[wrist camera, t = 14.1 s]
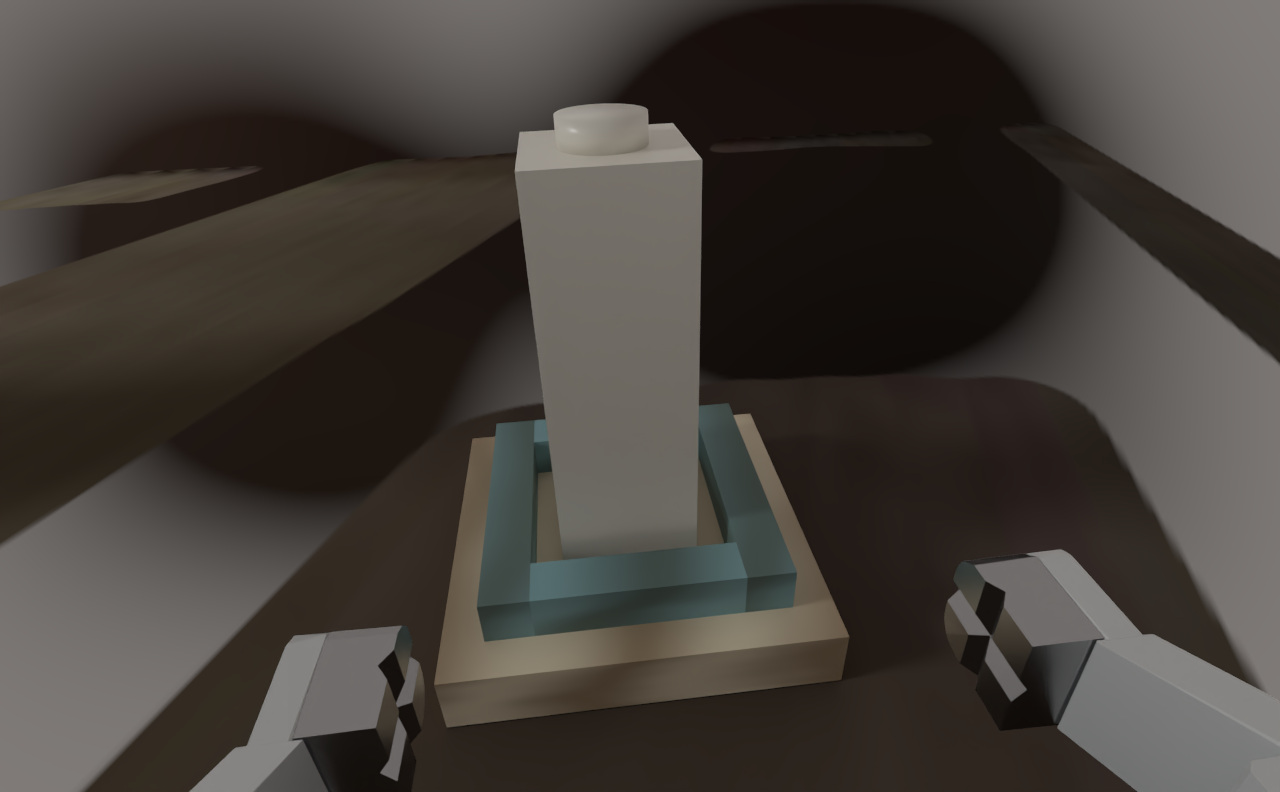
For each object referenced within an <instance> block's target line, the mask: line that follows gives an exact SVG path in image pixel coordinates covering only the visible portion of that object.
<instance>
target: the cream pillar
mask: <svg viewBox="0 0 1280 792" xmlns="http://www.w3.org/2000/svg"><path fill="white" fill-rule="evenodd" d="M553 115H554V127H555V130H549V131H532V132H520V135H519V143H518V151H517V158H516V166H515V177H516V185H517V193H518V201H519V209H520V217H521V225H522V232H523V241H524V249H525V257H526V265H527V273H528V281H529V289H530V297H531V305H532V313H533V321H534V329H535V337H536V345H537V352H538V361H539V369H540V376H541V385H542V392H543V401H544V409H545V417H546V425H547V433H548V441H549V449H550V457H551V465H552V473H553V481H554V489H555V497H556V505H557V513H558V521H559V529H560V537H561V545H562V553H563V560H569V559H579V558H589V557H598V556H608V555H618V554H627V553H637V552H646V551H656V550H666V549H675V548H685V547H694V546H697V497H698V425H699V353H700V352H699V351H700V345H699V344H700V281H701V208H702V205H701V204H702V159H701V158H700V156H699V155H698V154H697V153H696V151H695V150H694V149H693V148H692V146H691V145H690V144H689V143H688V141H687V140H686V139H685V138H684V136H683V135H682V134H681V133H680V131H679V130H678V129H677V128H676V127H675V125H674V124H673V123H670V124H652V125H648V110H647V109H646V108H645V107H641V106H638V105H631V104H590V105H580V106H574V107H569V108H565V109H561V110H558V111H556V112H555V113H554V114H553Z"/></svg>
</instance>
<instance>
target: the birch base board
mask: <svg viewBox="0 0 1280 792" xmlns="http://www.w3.org/2000/svg"><path fill="white" fill-rule="evenodd" d="M848 642H849V635H848V633H847V630H846V628H845V626H844V624H843V621H842V619H841V617H840V615H839V612H838V610H837V608H836V606H835V603H834V601H833V599H832V597H831V594H830V592H829V590H828V588H827V585H826V583H825V581H824V579H823V576H822V574H821V572H820V570H819V567H818V565H817V563H816V561H815V558H814V556H813V554H812V552H811V549H810V547H809V545H808V543H807V540H806V538H805V536H804V534H803V531H802V529H801V527H800V525H799V523H798V520H797V518H796V516H795V514H794V511H793V509H792V507H791V505H790V502H789V500H788V498H787V496H786V493H785V491H784V489H783V487H782V484H781V482H780V480H779V478H778V475H777V473H776V471H775V469H774V466H773V464H772V462H771V460H770V457H769V455H768V453H767V451H766V448H765V446H764V444H763V442H762V439H761V437H760V435H759V433H758V430H757V428H756V426H755V424H754V421H753V419H752V417H751V415H750V414H741V415H733V413H732V411H731V408H730V406H729V403H726V404H715V405H704V406H699V425H698V497H697V546H694V547H685V548H675V549H666V550H656V551H646V552H637V553H627V554H618V555H608V556H598V557H589V558H579V559H569V560H563V553H562V545H561V537H560V529H559V521H558V513H557V505H556V497H555V489H554V481H553V473H552V465H551V457H550V449H549V441H548V433H547V425H546V420H534V421H523V422H512V423H500V424H497V427H496V436H495V437H486V438H474V439H473V440H472V447H471V453H470V460H469V466H468V472H467V479H466V485H465V491H464V498H463V504H462V510H461V517H460V523H459V530H458V536H457V542H456V549H455V555H454V561H453V568H452V574H451V581H450V587H449V593H448V600H447V606H446V612H445V619H444V625H443V632H442V638H441V644H440V651H439V657H438V663H437V670H436V676H435V683H434V686H435V690H436V693H437V696H438V700H439V703H440V706H441V710H442V713H443V716H444V720H445V723H446V726H447V727H456V726H464V725H472V724H480V723H489V722H497V721H505V720H514V719H522V718H530V717H538V716H547V715H555V714H563V713H572V712H580V711H588V710H596V709H605V708H613V707H621V706H630V705H638V704H646V703H654V702H663V701H671V700H679V699H688V698H696V697H704V696H712V695H721V694H729V693H737V692H746V691H754V690H762V689H770V688H779V687H787V686H795V685H804V684H812V683H820V682H828V681H837V680H841V679H842V673H843V668H844V663H845V657H846V652H847V647H848Z"/></svg>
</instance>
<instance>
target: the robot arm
mask: <svg viewBox="0 0 1280 792" xmlns="http://www.w3.org/2000/svg"><path fill="white" fill-rule="evenodd" d="M953 580H954V582H955V583H956V585H957V586H958V588H959V590H958V591H957V592H956V593H955V594H954V595H953V596H952V597H951V598H950V599H949V600H948V601H947V605H946V610H945V614H944V621H945V629H946V635H947V638H948V641H949V643H950V646H951V649H952V650H953V652H954V654H955V656H956V657H957V659H958V661H959V663H960V664H961V665H963V666H964V667H966V668H967V669H969V670H970V671H972V672H974V673H975V674H977V675H978V677H977V683H976V689H975V690H976V692H977V693H978V695H979V697H980V698H981V700H982V702H983V703H984V705H985V707H986V708H987V710H988V712H989V713H990V715H991V717H992V718H993V720H994V722H995V723H996V725H997V727H998V728H999V730H1000V731H1004V730H1013V729H1023V728H1033V727H1042V726H1052V725H1058V727H1057V728H1058V729H1059V730H1060V731H1061V732H1063V733H1064V734H1065V735H1067V736H1068V737H1069V738H1070V739H1072V740H1073V741H1074V742H1075V743H1077V744H1078V745H1079V746H1081V747H1082V748H1083V749H1084V750H1086V751H1087V752H1088V753H1089V754H1091V755H1092V756H1093V757H1095V758H1096V759H1097V760H1098V761H1100V762H1101V763H1102V764H1103V765H1105V766H1106V767H1107V768H1108V769H1110V770H1111V771H1112V772H1114V773H1115V774H1116V775H1117V776H1119V777H1120V778H1121V779H1122V780H1124V781H1125V782H1126V783H1128V784H1129V785H1130V786H1131V787H1133V788H1134V789H1135V790H1136V791H1138V792H1280V700H1278V699H1276V698H1274V697H1272V696H1270V695H1268V694H1266V693H1264V692H1263V691H1261V690H1259V689H1257V688H1255V687H1253V686H1251V685H1249V684H1247V683H1245V682H1243V681H1242V680H1240V679H1238V678H1236V677H1234V676H1232V675H1230V674H1228V673H1226V672H1224V671H1222V670H1221V669H1219V668H1217V667H1215V666H1213V665H1211V664H1209V663H1207V662H1205V661H1203V660H1201V659H1200V658H1198V657H1196V656H1194V655H1192V654H1190V653H1188V652H1186V651H1184V650H1182V649H1180V648H1179V647H1177V646H1175V645H1173V644H1171V643H1169V642H1167V641H1165V640H1163V639H1161V638H1159V637H1157V636H1156V635H1154V634H1148V635H1142V634H1141V633H1140V631H1139V630H1138V629H1137V628H1136V627H1135V626H1134V625H1133V624H1132V622H1131V621H1130V620H1129V619H1128V618H1127V617H1126V616H1125V615H1124V614H1123V612H1122V611H1121V610H1120V609H1119V608H1118V607H1117V606H1116V605H1115V603H1114V602H1113V601H1112V600H1111V599H1110V598H1109V597H1108V596H1107V595H1106V593H1105V592H1104V591H1103V590H1102V589H1101V588H1100V587H1099V586H1098V585H1097V583H1096V582H1095V581H1094V580H1093V579H1092V578H1091V577H1090V576H1089V574H1088V573H1087V572H1086V571H1085V570H1084V569H1083V568H1082V567H1081V566H1080V564H1079V563H1078V562H1077V561H1076V560H1075V559H1074V558H1073V557H1072V556H1071V555H1070V554H1069V553H1067V552H1065V551H1063V550H1053V551H1044V552H1036V553H1028V554H1016V555H1008V556H1000V557H992V558H984V559H976V560H968V561H963V562H962V563H961V564H960V565H959V566H958V567H957V569H956V572H955V575H954V579H953ZM412 643H413V642H412V639H411V636H410V633H409V631H408V628H407V626H394V627H382V628H371V629H360V630H348V631H337V632H330V633H320V634H309V635H299V636H294V637H293V638H292V639H291V641H290V642H289V643H288V644H287V645H286V647H285V649H284V652H283V654H282V657H281V659H280V662H279V664H278V667H277V670H276V672H275V675H274V677H273V680H272V682H271V685H270V688H269V690H268V693H267V695H266V698H265V700H264V703H263V706H262V708H261V711H260V713H259V716H258V718H257V721H256V724H255V726H254V729H253V731H252V734H251V736H250V739H249V742H248V744H247V746H244V747H237V748H234V749H233V750H232V751H231V752H230V753H229V754H228V755H227V756H226V757H225V758H224V759H223V760H222V761H221V762H220V763H219V764H218V765H217V766H216V767H215V768H214V769H213V770H212V771H210V772H209V773H208V774H207V775H206V776H205V777H204V778H203V779H202V780H201V781H200V782H199V783H198V784H197V785H196V786H195V787H194V788H193V789H192V790H191V791H190V792H411V790H412V784H413V778H414V772H415V766H416V759H415V756H414V753H413V750H412V747H411V742H412V741H413V740H414V739H415V738H416V736H417V735H418V734H419V733H420V732H421V730H422V723H423V716H424V700H425V688H424V681H423V674H422V671H421V667H420V664H419V662H417V661H416V660H414V659H413V658H411V657H410V653H411V648H412Z"/></svg>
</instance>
